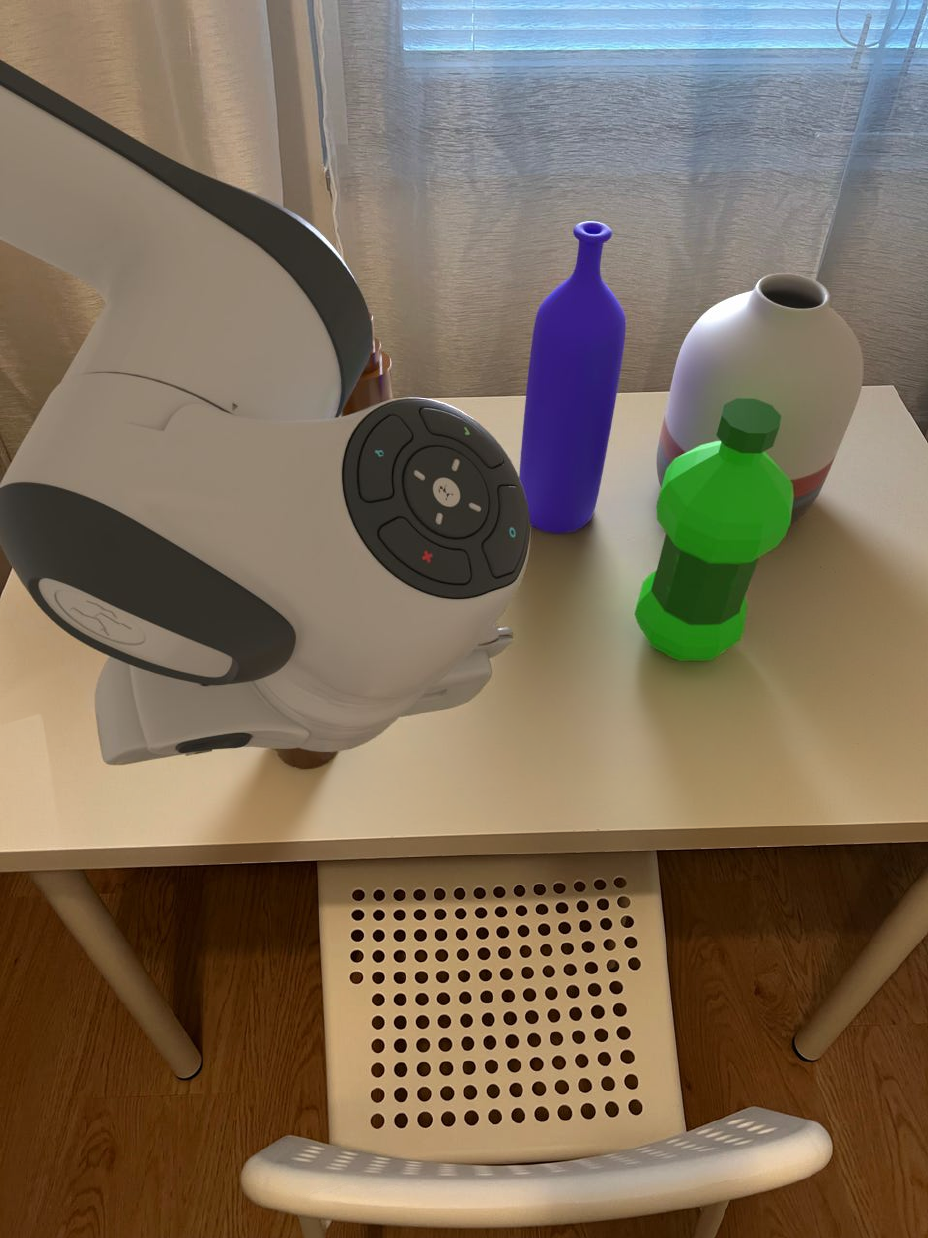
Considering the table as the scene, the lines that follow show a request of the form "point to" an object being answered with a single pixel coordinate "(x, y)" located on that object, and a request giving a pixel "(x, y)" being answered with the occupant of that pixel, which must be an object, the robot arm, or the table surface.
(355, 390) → the row bottle
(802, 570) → the table surface
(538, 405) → the bottle
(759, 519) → the plastic bottle
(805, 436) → the vase
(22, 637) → the table surface
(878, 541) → the table surface
